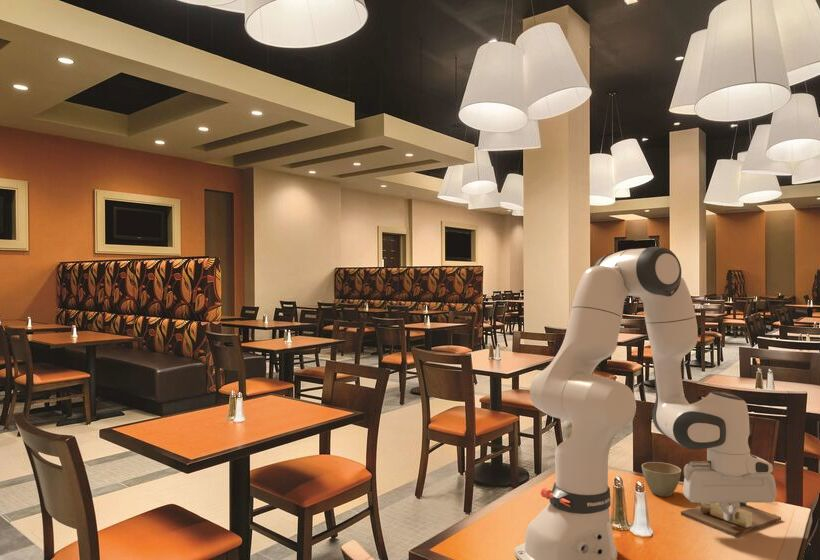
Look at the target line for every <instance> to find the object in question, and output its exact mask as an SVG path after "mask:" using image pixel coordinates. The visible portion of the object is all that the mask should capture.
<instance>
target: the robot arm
mask: <svg viewBox="0 0 820 560" xmlns="http://www.w3.org/2000/svg"><path fill="white" fill-rule="evenodd" d="M629 296H631V297H638V298H639V299H640V300H641V302H642V304H643V312H644V313H643V314H644V315H643V316H644V320H645V321H644V322H645V327H646V332H647V336H648V342H649V345H650V350H651V352H650V353H651V356H652V368H653V376H654V378H653V379H654V385H655V395H656V396H655V402H654V406H653V409H652V416H651V417H652V421H653V424H654V427H655V428H656V429H657V431H658V432H660V434H662V435H664V436H665V437H668V438H670V439H671V440H673V442H675V443H677V444H678V445H680V446H681V447H683V448H686V449H688V450H704V449H706V452H707V453H706V460H705V461H704V460H703V461H695V460H694V461H689V463H686V464H685V466H684V467H683V476H684V479H683V485H682V487H683V488H682V494H683V496H684V497H685V498H686V499H687V500H688V501H689V502H691V503H699V504H700V503H716V502H718V504H719V506H720V507H721V509H722V510H723V517H724V519H725V520H726V521H735V514H736V512H737V511H738V509H739V508H740V502H746V503H774V501H775V500H776V499H777V486H776V485H777V484H776V479H775V476H774V475H773V474H772V473H773V471H774V466H773V464H772V463H770V462H769V461H767V460H765V459H763V458H761V457H759V456H756V455H754V454H751V448H750V446H749V436H750V433H751V431H750V416H749V410H748V405H747V402H746V401H745V400H744V399H743V398H741V397H740V396H737V395H736V394H731V393H729V392H723V391H711V392H709V393H708V394H707V395H706V396H704V397H703V398H701V399H700V400H698V401H696V402H693V403H689V401H688V400H687V399H686V397H685V394H684V386H683V385H684V384H683V378H682V361H683V359H684V358H685V356H686V355H687V354H689V353H691V351H693V349H694V348H695V347H696V345H697V344H698V338H699V337H698V334H699V333H698V331H699V330H698V329H699V328H698V323H697V317H696V311H695V306H694V303H693V300H692V296H691V294H690V291H689V288H688V285H687V283H686V281H685V279H684V278H683V277H682V266H681V263H680V261H679V258H678V257H677V256H676V254H675V253H674V252H673V251H672V250H671V249H669V248H666V247H661V246H650V247H647V248H646V247H645V248H644V247H643V248H642V247H641V248H629V249H625V250H620V251H618V252H612V253H609V254H605V255H603V256H602V257H600V258H599V259H598V260H597V261H596V262H595V264H594V266H591V267H588V268H587V269H586V270H585V271H584V272H583V273H582V275H581V277H580V279H579V282H578V284H577V287H576V290H575V293H574V296H573V300H572V304H571V309H570V315H569V319H568V324H567V326H566V331H565V335H564V339H563V342H562V344H561V346H560V348H559V350H558V352H557V353H556V354H555V357H554V358H553V359H552V360H551V362H550V363H549V364H548V365H547V366H546V367H545V368H544V369H543V370H541V371H539V372H538V373H537V374H535V376H534V377H533V378H532V381H531V384H530V386H529V397H530V400H531V403H532V404H533V406H534V408H537V410H540V411H541V412H543V414H546V415H548V416H549V417H552V418H555V419H558V420H559V419H560V420H564V421H567V422H571V426H572V427H571V432H570V436H569V438H567V439H565V440H564V441H562V442H561V443H559V444H558V445H557V446H556V448H555V452H554V461H555V462H554V469H555V470H554V472H555V481H554V483H553V487H552V489H548V488H547V487H542V488H541V490H540V492H539V493H540V496H541V497H543V498H546V500H549V502H548V503H547V504H546V506H545V507H543V509H542V510H541V511H540V512H539V513H538V514H537V516H535V517H534V518H533V519H532V521H530V522H529V523H528V525H527V526H526V527H527V528H526V531H525V538H524V542H523V543H521V544H519V545H517V546H515V547H514V550H513V551H515V553H514V555H516V556H517V557H516V556H515V557H516V559H517V558H518V559H519V560H618V559H617V558H618V550H617V548H616V544H615V539H614V534H613V527H612V522H611V515H610V507H611V499H612V497H611V489H610V487H609V485H608V484H609V483H608V482H609V479H608V477H609V473H608V471H609V453H610V450H611V445H612V443H613V441H614V439H615V438H616V437H617V436H618V434H619V433H620V432H621V431H623V430H624V429H626V428H627V427H628V426H629V425H631V423H632V421H633V420H634V418H635V415H636V411H637V403H636V402H637V401H636V398H635V395H634V392H633V391H632V389H631V388H630V386H628V385H627V384H624V383H622V382H620V381H618V380H615V379H612V378H610V377H606V376H600V375H594V374H593V373H594V371H595V370H596V367H597V366H598V365H599V364H601V362H602V361H604V360H606V359H608V358H610V357H612V355H614V353H615V351H616V350H617V346H618V340H619V334H620V330H621V324H622V319H623V315H624V314H623V313H624V305H625V300H626V299H627V297H629ZM729 503H730V504H731V506H730V508H729V510H728V509H727V507H728V506H729ZM518 559H517V560H518Z"/></svg>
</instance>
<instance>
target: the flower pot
mask: <svg viewBox="0 0 820 560" xmlns="http://www.w3.org/2000/svg"><path fill="white" fill-rule="evenodd" d="M641 470H642V475H643V477H644V481H645V482H646V485H647V487H648V489H649V490H650V492H651V493H652V494H653V495H655V496H659V497H671V496H672V495H673V493H674V492H675V491H676V489H677V487H678V485H679V482H680V479H681V475H682V469H681V467H679V466H678V465H674V464H671V463H666V462H659V461H657V462H656V461H648V462H645V463H642V464H641Z"/></svg>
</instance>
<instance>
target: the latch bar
mask: <svg viewBox="0 0 820 560" xmlns="http://www.w3.org/2000/svg"><path fill="white" fill-rule="evenodd" d="M699 506H700V511H701V512H703V513H705V514H710V515H713V516H716V517H718V518H721V519H724V517H723V510H722V509H721V507H720V506H719V504H718V502H716V503H699ZM730 506H731V505H729V506H728V507H727V509H728V510H729V508H730ZM724 520H725V519H724ZM729 522H732V523H734V524H737V525H740V526H742V527H745V528H747V527H750V526H752V513H751V512H749V511H746V510H743V509H740V508H739V509H738V511H737V512H736V514H735V521H729Z"/></svg>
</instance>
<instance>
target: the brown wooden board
mask: <svg viewBox="0 0 820 560" xmlns="http://www.w3.org/2000/svg"><path fill="white" fill-rule="evenodd" d="M729 505H731V504H730V503H729ZM740 509H743V510H746V511H749V512H751V513H752V526H750V527H747V528H745V527H742V526H740V525H737V524H734V523H732V522H729V521H726V520H724V519H721V518H718V517H716V516H713V515H710V514H705V513H703V512H701V511H700V505H698V506H695V507H691V508H689V509H685V510H681V511H680V516H683V517H686V518H688V519H691V520H693V521H696V522H698V523H700V524H703V525H704V526H707V527H710V528H713V529H715V530H718V531H720V532H723V533H725V534H728V535H730V536H731V537H739V536H741V535H745V534H747V533H750V532H753V531H756V530H758V529H760V528H765V527H767V526H769V525H772V524H775V523H778V522H780V521H779V520H781V521H782V517H781V516H779V515H776V514H773V513H770V512H769V511H765V510H762V509H759V508H756V507H753V506H751V505H748V504H746V505H745V506H741V505H740ZM777 521H778V522H777Z"/></svg>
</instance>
